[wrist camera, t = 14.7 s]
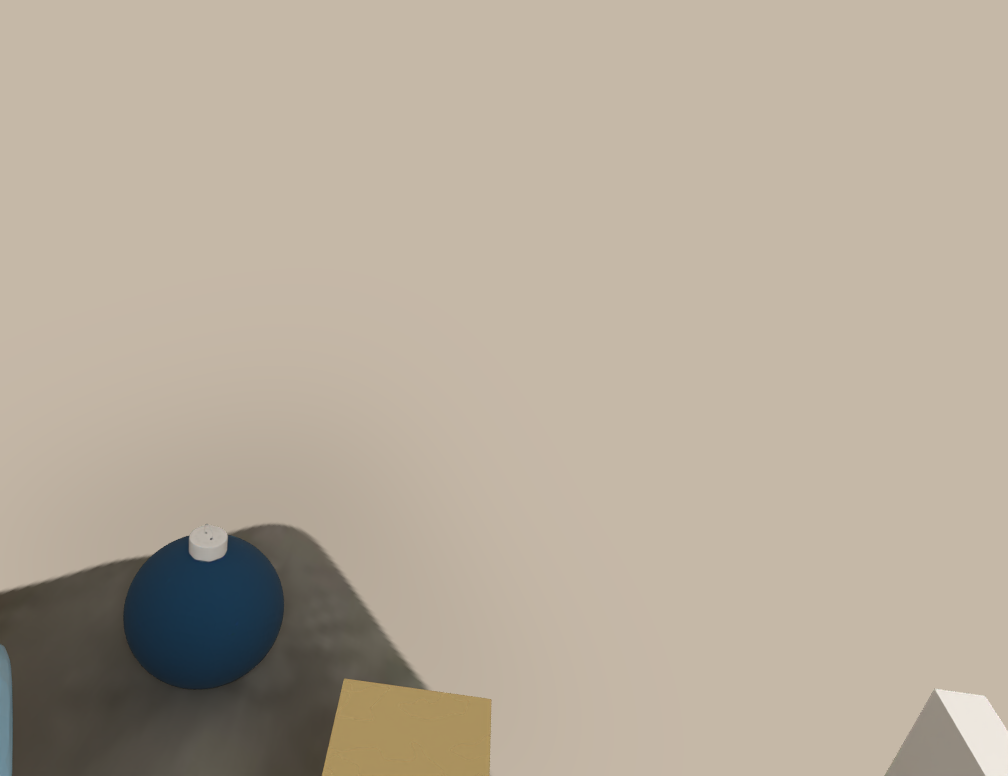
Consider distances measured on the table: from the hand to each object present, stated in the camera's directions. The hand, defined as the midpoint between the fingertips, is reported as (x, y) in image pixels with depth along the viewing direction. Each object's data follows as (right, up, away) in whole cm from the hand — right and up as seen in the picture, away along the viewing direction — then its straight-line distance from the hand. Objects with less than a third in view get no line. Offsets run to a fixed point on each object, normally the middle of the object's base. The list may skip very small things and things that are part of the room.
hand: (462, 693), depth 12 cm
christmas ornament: (-17, -12, +37) cm, 43 cm away
